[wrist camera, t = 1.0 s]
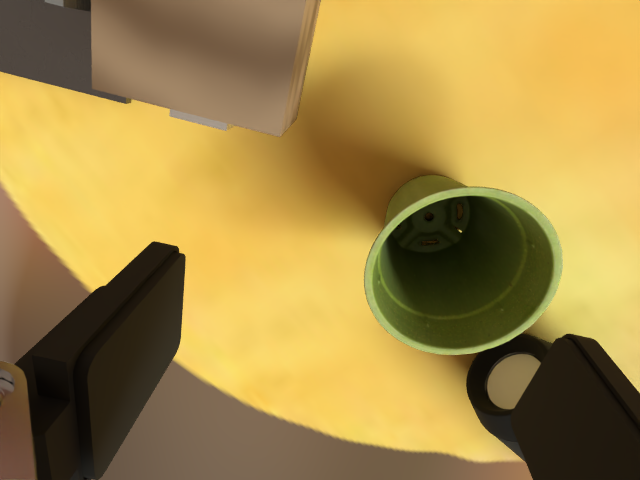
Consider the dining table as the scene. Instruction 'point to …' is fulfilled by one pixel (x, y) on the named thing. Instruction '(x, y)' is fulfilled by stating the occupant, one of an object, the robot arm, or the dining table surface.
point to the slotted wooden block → (207, 56)
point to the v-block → (49, 43)
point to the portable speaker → (504, 383)
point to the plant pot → (461, 267)
